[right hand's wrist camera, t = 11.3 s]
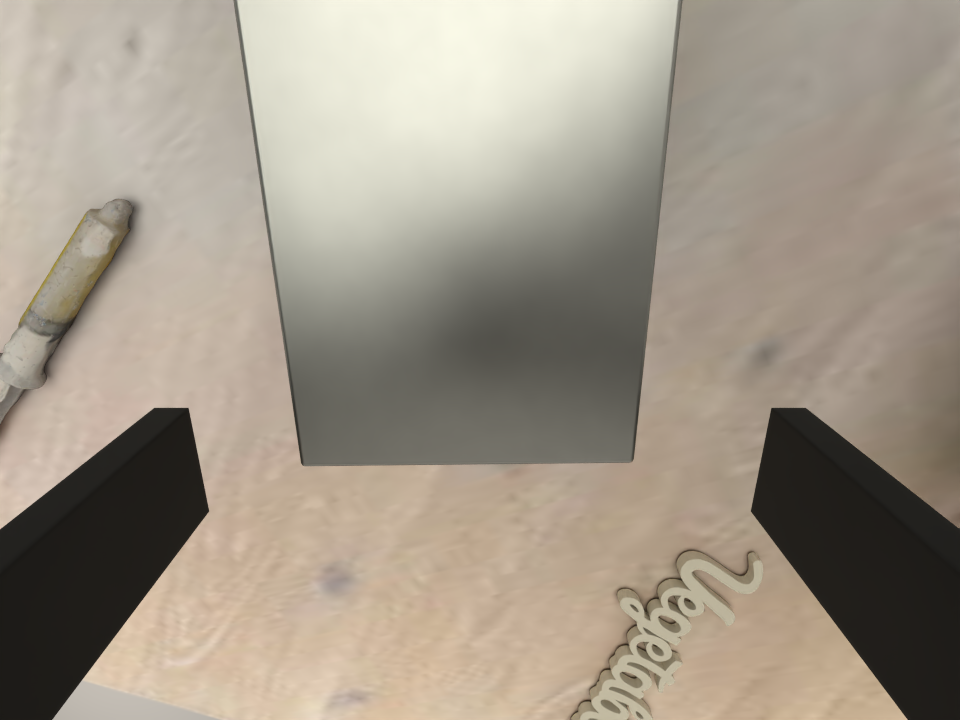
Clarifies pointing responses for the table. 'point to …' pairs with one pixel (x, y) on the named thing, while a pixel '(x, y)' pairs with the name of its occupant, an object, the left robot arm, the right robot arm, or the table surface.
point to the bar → (462, 220)
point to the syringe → (60, 299)
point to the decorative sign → (661, 635)
